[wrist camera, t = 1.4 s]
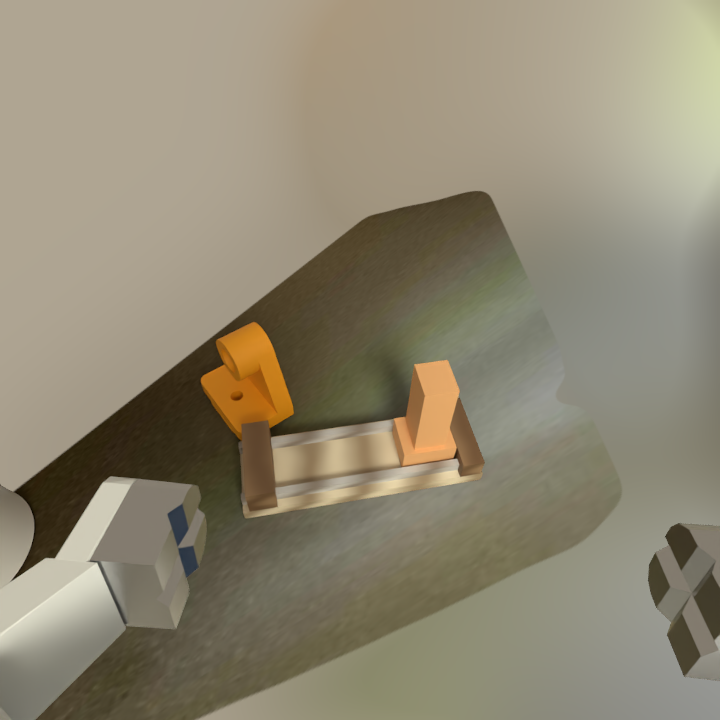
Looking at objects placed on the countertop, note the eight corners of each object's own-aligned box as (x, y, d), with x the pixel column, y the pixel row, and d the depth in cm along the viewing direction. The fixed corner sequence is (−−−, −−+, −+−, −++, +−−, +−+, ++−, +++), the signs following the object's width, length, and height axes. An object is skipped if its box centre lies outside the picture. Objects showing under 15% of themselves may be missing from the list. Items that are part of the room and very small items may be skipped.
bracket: (202, 391, 68) (180, 327, 59) (250, 365, 71) (236, 300, 62) (243, 447, 63) (227, 386, 54) (294, 417, 66) (286, 355, 57)
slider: (402, 469, 60) (413, 401, 50) (392, 432, 63) (401, 362, 53) (452, 461, 60) (473, 393, 51) (440, 425, 64) (457, 354, 54)
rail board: (245, 518, 57) (238, 498, 53) (241, 448, 63) (235, 425, 59) (480, 479, 61) (489, 457, 57) (456, 416, 67) (463, 392, 63)
